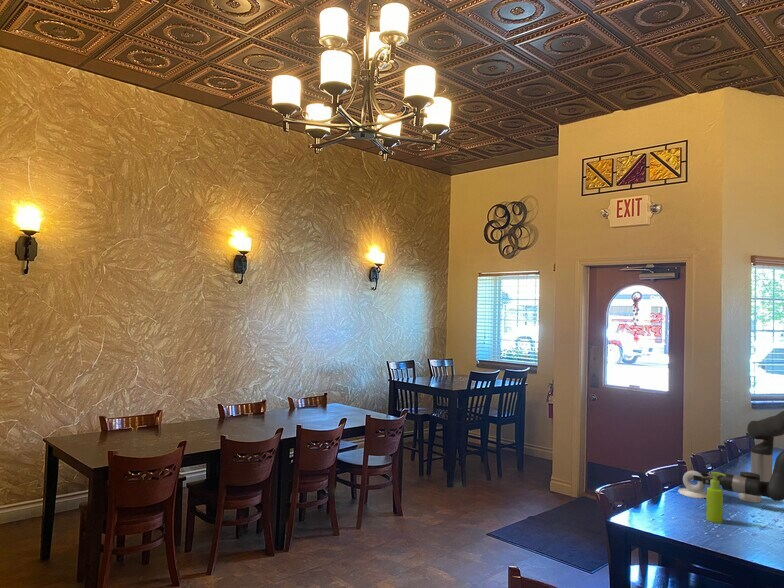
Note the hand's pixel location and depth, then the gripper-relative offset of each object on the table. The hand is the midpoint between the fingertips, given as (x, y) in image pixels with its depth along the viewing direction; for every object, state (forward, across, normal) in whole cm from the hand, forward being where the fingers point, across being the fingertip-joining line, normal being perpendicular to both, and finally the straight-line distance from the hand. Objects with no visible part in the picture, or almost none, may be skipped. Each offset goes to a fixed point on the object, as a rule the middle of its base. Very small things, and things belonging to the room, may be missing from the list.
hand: (695, 475), depth 272 cm
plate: (+1, 0, +9) cm, 9 cm away
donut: (+1, 0, +8) cm, 8 cm away
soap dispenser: (-16, +33, +9) cm, 38 cm away
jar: (-20, -12, +9) cm, 25 cm away
